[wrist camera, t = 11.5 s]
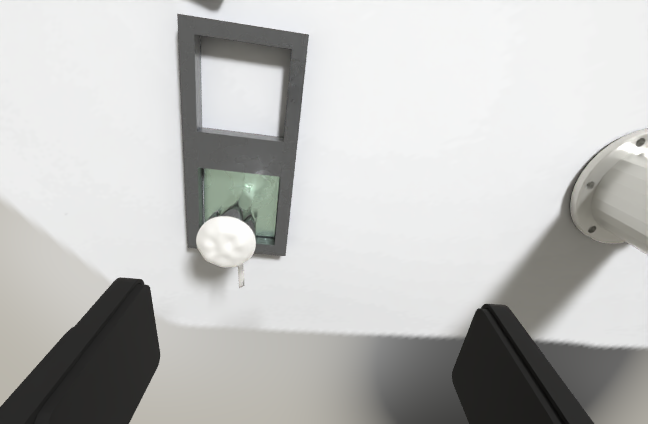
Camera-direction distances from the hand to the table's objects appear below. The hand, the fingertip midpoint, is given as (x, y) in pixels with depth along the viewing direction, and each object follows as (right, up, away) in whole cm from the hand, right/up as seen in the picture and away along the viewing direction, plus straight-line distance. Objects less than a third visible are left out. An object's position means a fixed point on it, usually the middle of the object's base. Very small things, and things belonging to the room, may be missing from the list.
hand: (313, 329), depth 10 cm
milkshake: (-8, +4, +24) cm, 26 cm away
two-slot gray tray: (-7, +9, +22) cm, 25 cm away
